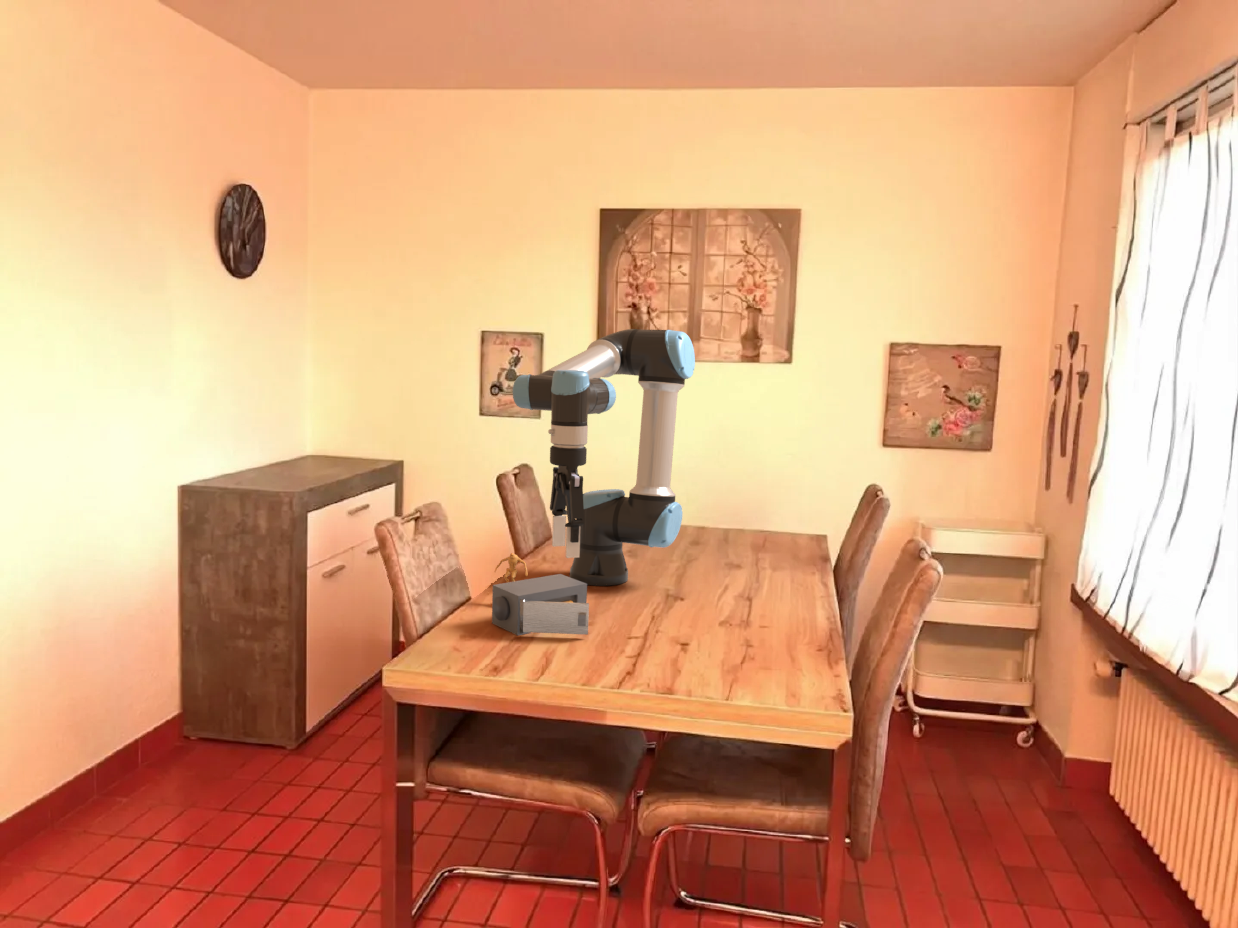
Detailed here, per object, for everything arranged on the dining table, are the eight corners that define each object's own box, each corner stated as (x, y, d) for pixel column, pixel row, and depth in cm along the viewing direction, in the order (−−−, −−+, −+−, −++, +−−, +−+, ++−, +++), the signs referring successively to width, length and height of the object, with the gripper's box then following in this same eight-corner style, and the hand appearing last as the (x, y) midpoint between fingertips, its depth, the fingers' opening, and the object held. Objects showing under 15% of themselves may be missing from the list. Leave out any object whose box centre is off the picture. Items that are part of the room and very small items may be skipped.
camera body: (559, 610, 213) (560, 573, 212) (586, 621, 206) (587, 583, 205) (487, 624, 201) (488, 585, 200) (513, 636, 194) (514, 596, 193)
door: (587, 634, 195) (589, 601, 194) (587, 637, 193) (588, 603, 192) (519, 632, 195) (520, 598, 194) (518, 634, 193) (519, 601, 192)
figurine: (487, 605, 215) (488, 554, 213) (498, 598, 221) (499, 549, 219) (520, 609, 213) (521, 558, 211) (531, 603, 218) (532, 552, 217)
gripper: (537, 439, 201) (534, 540, 204) (566, 452, 180) (562, 565, 183) (570, 439, 203) (567, 539, 206) (603, 452, 183) (599, 563, 186)
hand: (565, 551), depth 195 cm, fingers open, 10 cm apart
